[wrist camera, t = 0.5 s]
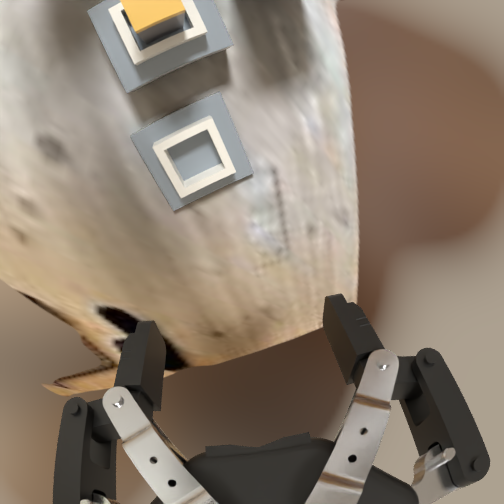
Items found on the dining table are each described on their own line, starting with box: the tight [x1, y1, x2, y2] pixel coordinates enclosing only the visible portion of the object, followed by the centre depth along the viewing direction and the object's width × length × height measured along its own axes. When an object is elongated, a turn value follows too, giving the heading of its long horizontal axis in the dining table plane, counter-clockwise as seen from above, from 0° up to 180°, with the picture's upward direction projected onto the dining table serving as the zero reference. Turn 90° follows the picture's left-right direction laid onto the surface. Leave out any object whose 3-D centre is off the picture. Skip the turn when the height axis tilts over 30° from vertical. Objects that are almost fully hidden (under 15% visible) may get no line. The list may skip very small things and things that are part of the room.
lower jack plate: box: [130, 92, 254, 211], centre depth 31 cm, size 12×12×4 cm
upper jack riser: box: [87, 0, 234, 93], centre depth 19 cm, size 12×12×7 cm
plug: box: [120, 0, 185, 44], centre depth 15 cm, size 4×4×8 cm
